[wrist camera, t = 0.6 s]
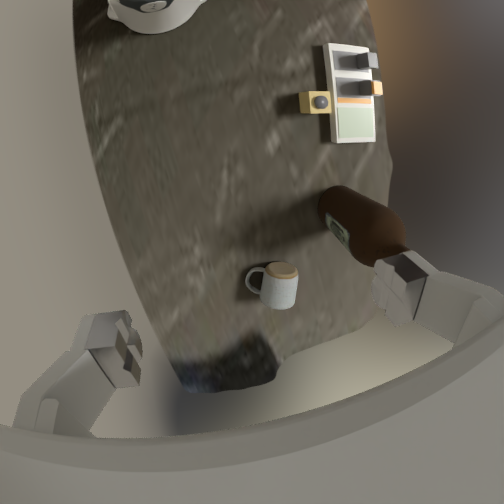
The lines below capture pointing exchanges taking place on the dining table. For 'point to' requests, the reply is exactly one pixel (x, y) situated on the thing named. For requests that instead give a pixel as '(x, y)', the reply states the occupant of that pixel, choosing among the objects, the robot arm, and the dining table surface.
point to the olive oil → (362, 225)
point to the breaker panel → (348, 95)
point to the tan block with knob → (315, 102)
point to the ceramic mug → (276, 285)
